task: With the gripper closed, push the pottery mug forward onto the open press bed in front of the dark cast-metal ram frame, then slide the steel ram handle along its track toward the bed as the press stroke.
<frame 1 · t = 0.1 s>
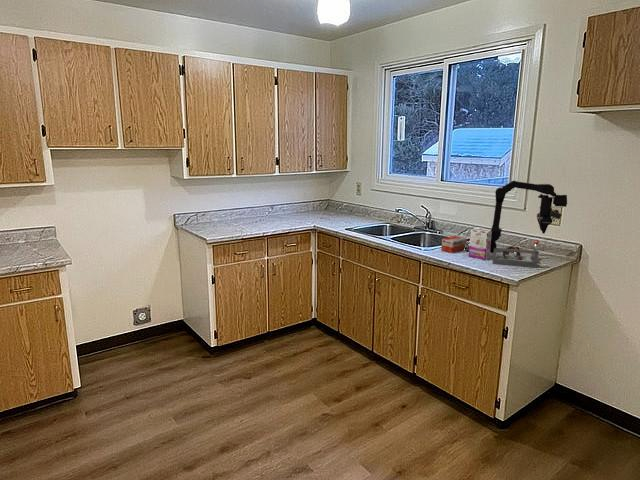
hand: (542, 231, 249), 15 cm above the worktop, fingers open, 9 cm apart
candy bar box: (478, 258, 248), on the worktop
medicine box: (453, 250, 265), on the worktop
ram track: (534, 260, 243), on the worktop
ram handle: (535, 248, 244), point 6 cm above the worktop, slide at 0.0 cm
press bed: (513, 263, 236), on the worktop
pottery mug: (512, 258, 248), on the worktop
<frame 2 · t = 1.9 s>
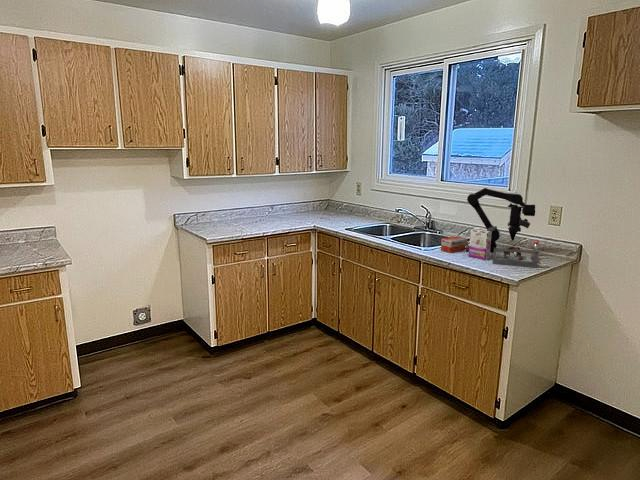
hand: (512, 240, 256), 8 cm above the worktop, fingers closed
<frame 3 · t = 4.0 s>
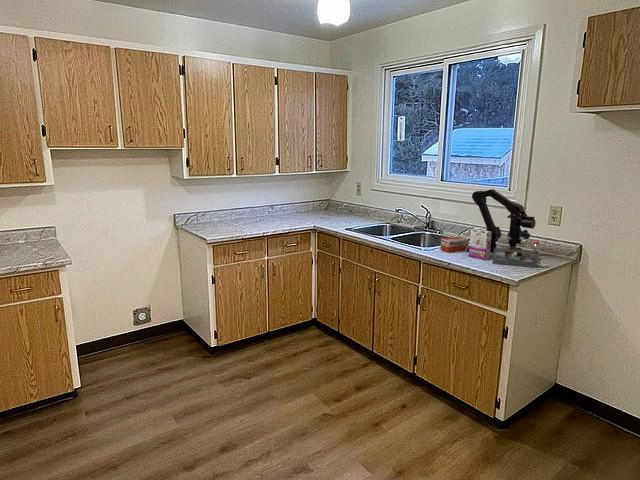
hand: (512, 251, 251), 3 cm above the worktop, fingers closed
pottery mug: (514, 259, 246), on the worktop, touching gripper
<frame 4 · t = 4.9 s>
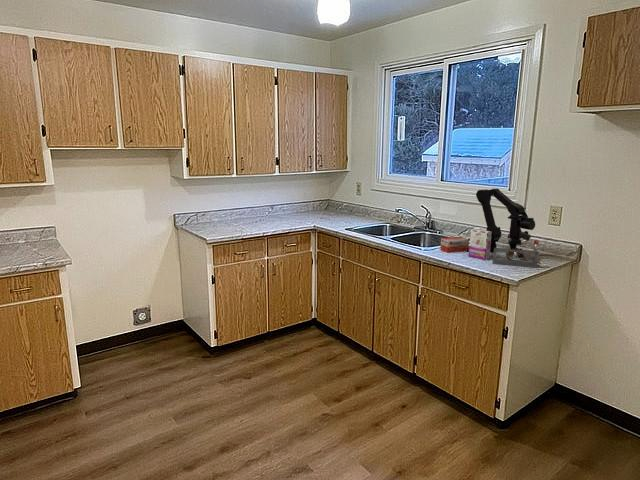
hand: (512, 253, 248), 3 cm above the worktop, fingers closed
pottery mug: (516, 260, 243), on the worktop, touching gripper
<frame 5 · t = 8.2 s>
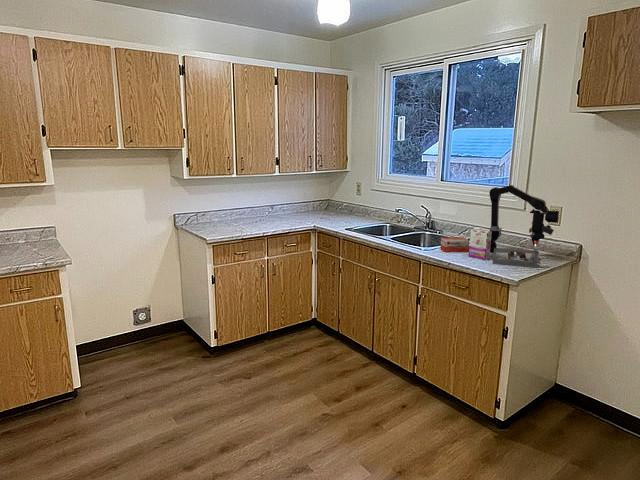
hand: (534, 247, 248), 6 cm above the worktop, fingers closed
ram handle: (535, 248, 244), point 6 cm above the worktop, slide at 0.0 cm, touching gripper
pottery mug: (517, 261, 242), on the worktop
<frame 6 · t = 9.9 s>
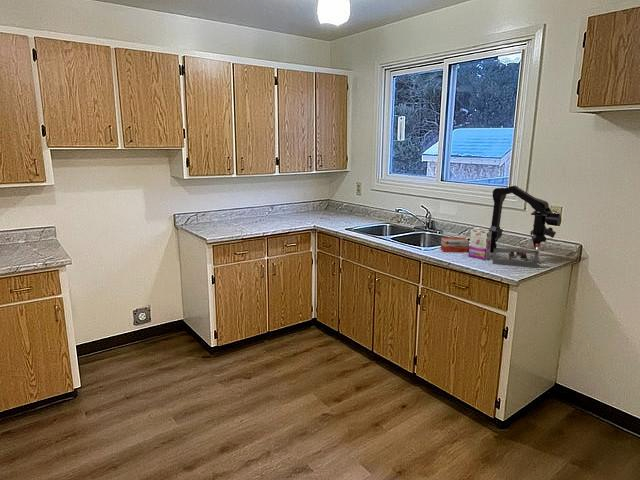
hand: (536, 250, 241), 6 cm above the worktop, fingers closed
ram handle: (536, 251, 237), point 6 cm above the worktop, slide at 7.7 cm, touching gripper
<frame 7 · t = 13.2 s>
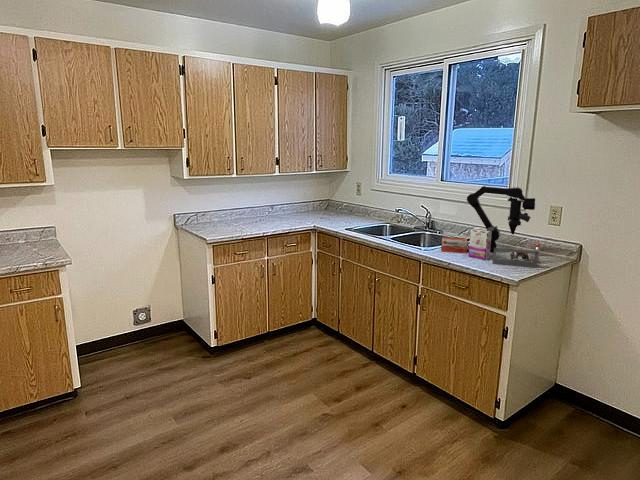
hand: (512, 234, 255), 12 cm above the worktop, fingers closed
ram handle: (536, 251, 237), point 6 cm above the worktop, slide at 7.7 cm
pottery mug: (520, 261, 240), on the worktop
at the end: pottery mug inside the target area on the worktop beside the press bed (4.2 cm from its centre), on the worktop; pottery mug moved 8.0 cm from its start; ram handle slide at 7.7 cm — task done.
